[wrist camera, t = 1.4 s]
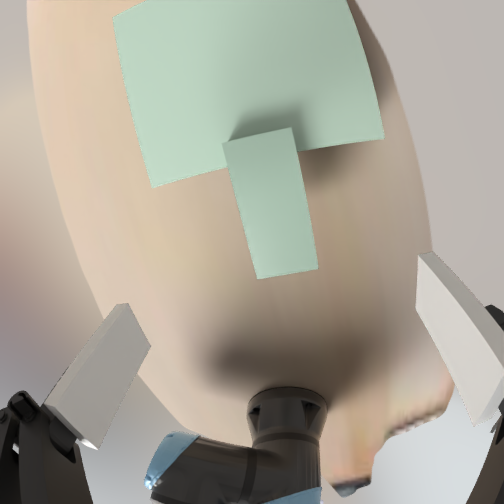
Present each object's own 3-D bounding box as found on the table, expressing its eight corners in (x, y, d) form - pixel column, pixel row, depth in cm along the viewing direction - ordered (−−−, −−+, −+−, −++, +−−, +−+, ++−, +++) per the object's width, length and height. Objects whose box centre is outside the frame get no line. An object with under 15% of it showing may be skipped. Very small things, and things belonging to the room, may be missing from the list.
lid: (386, 230, 26) (405, 252, 21) (191, 265, 29) (174, 291, 25) (323, -29, 16) (330, -56, 11) (125, 24, 19) (98, 10, 14)
